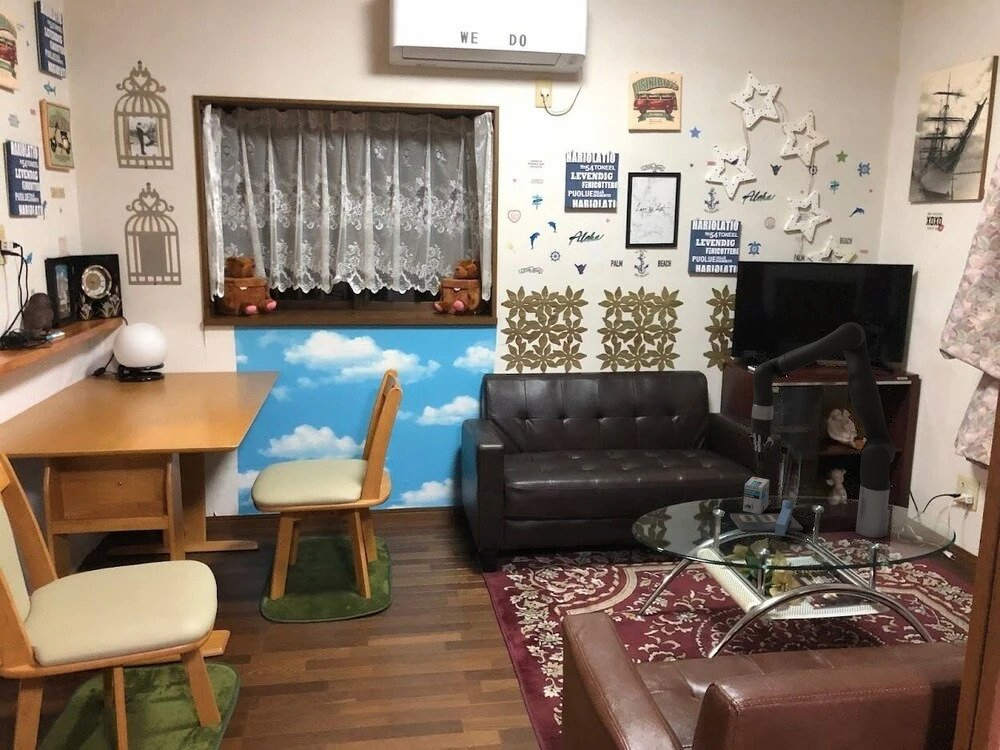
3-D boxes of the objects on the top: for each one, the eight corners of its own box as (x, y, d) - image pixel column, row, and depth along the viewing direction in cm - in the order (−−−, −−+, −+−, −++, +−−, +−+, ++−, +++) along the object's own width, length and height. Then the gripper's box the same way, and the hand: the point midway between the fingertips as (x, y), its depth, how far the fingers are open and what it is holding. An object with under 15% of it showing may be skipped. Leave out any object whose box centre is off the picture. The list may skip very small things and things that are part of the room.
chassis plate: (789, 516, 294) (789, 512, 294) (802, 530, 282) (803, 526, 281) (730, 516, 294) (730, 512, 294) (740, 530, 282) (741, 526, 281)
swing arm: (782, 514, 292) (783, 499, 290) (792, 516, 290) (793, 500, 289) (773, 534, 274) (775, 517, 273) (784, 536, 273) (786, 519, 271)
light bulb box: (760, 515, 296) (762, 487, 294) (742, 511, 300) (744, 484, 297) (768, 506, 305) (770, 479, 303) (750, 502, 308) (752, 476, 306)
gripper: (742, 413, 299) (738, 457, 302) (767, 421, 287) (764, 467, 291) (757, 410, 302) (754, 454, 306) (783, 419, 290) (779, 464, 294)
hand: (759, 460), depth 298 cm, fingers closed
